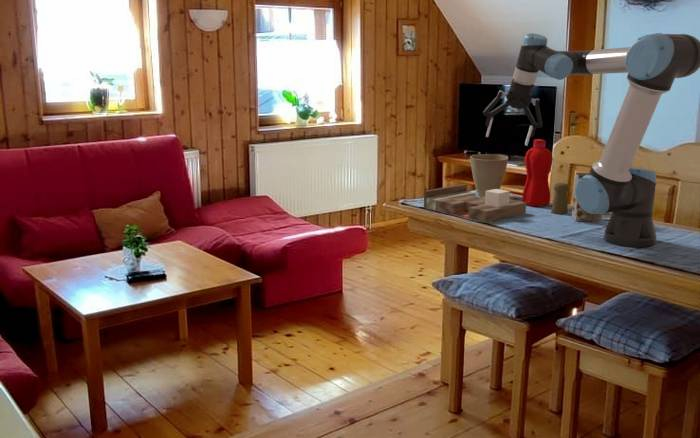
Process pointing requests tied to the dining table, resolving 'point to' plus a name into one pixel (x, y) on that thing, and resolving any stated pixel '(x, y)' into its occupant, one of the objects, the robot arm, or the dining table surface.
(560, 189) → the cork
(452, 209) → the wooden board
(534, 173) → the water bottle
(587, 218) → the coffee box
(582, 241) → the dining table surface
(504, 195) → the block
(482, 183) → the plant pot
